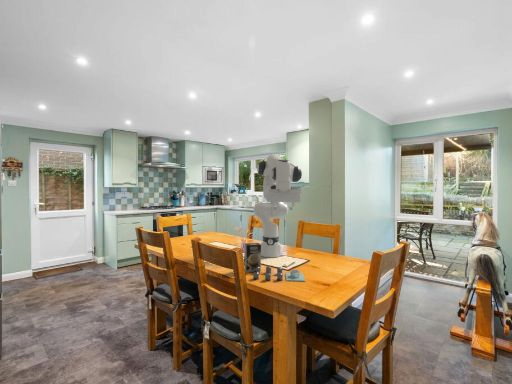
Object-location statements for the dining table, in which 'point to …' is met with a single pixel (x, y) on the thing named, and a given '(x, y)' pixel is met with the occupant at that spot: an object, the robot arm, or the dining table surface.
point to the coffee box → (252, 256)
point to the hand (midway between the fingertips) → (283, 209)
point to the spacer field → (268, 273)
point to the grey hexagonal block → (294, 273)
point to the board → (295, 278)
